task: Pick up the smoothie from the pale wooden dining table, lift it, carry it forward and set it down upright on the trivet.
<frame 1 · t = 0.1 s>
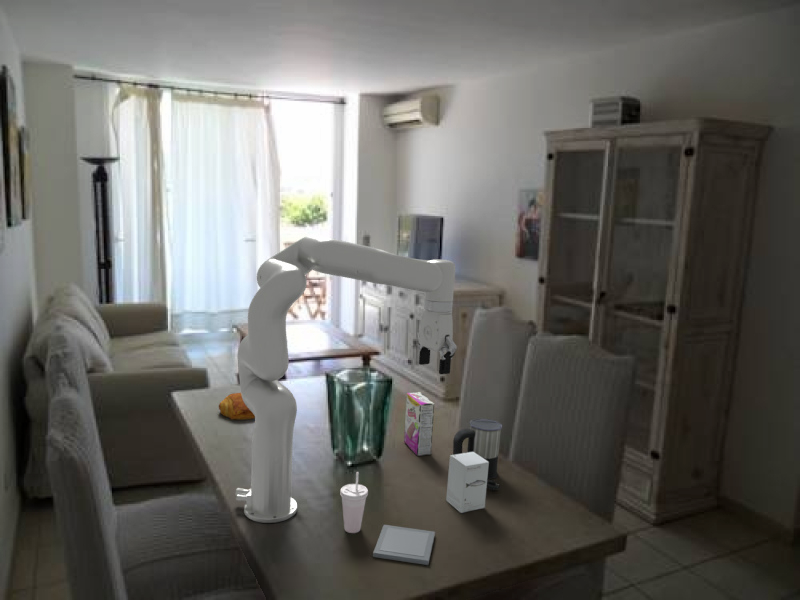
hand: (434, 368, 171), 31 cm above the table, tool pointing down, fingers open, 9 cm apart
trivet: (404, 545, 141), on the table
croissant: (242, 414, 217), on the table
smoothie: (352, 529, 147), on the table
candy bar box: (416, 449, 196), on the table
supplement box: (465, 505, 162), on the table
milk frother: (483, 480, 177), on the table
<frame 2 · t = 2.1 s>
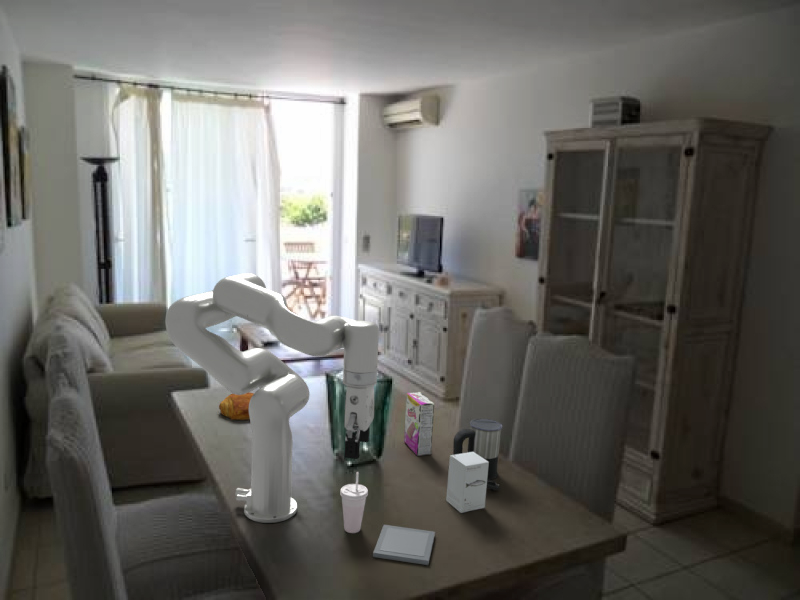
hand: (357, 449, 144), 20 cm above the table, tool pointing down, fingers open, 9 cm apart
nothing on the table moved.
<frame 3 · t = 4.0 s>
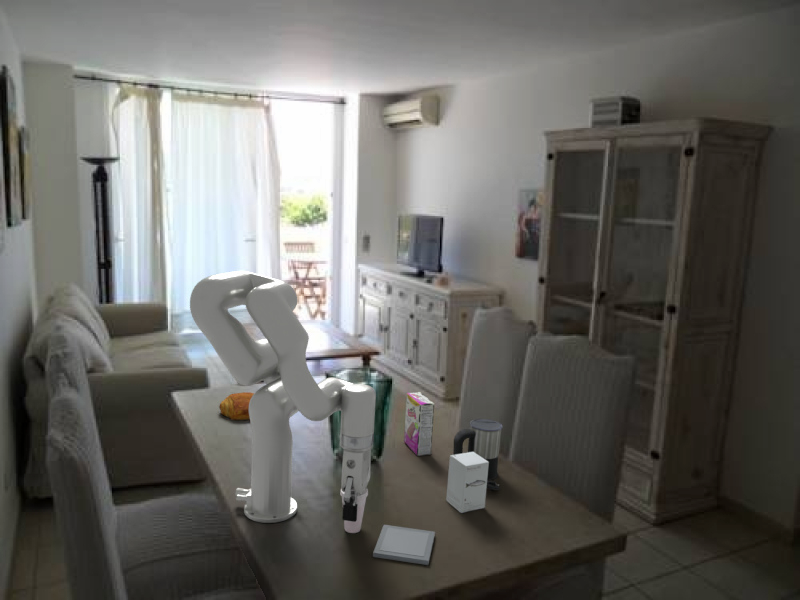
hand: (353, 512, 146), 4 cm above the table, tool pointing down, fingers closed on smoothie, 6 cm apart
smoothie: (352, 529, 147), on the table, touching gripper
everything else where it was.
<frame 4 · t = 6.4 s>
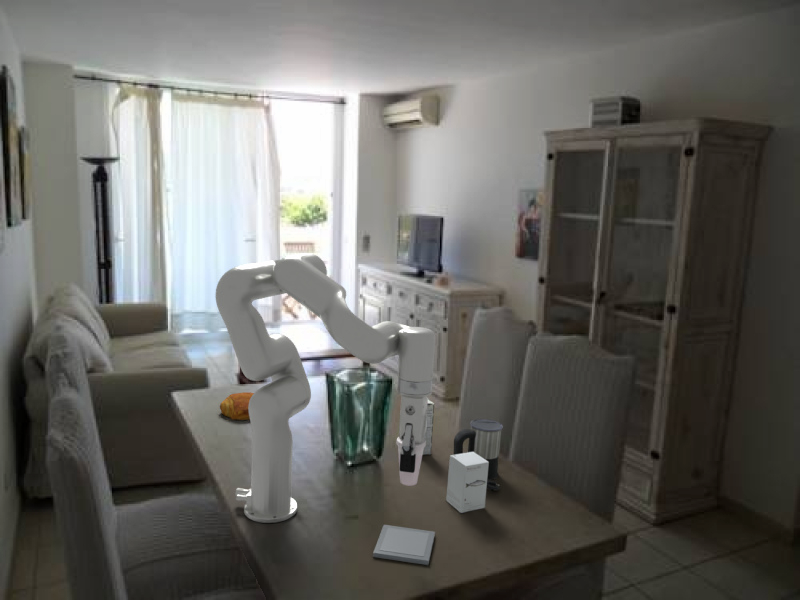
hand: (409, 463, 138), 19 cm above the table, tool pointing down, fingers closed on smoothie, 6 cm apart
smoothie: (408, 482, 139), point 15 cm above the table, touching gripper
everything else where it was.
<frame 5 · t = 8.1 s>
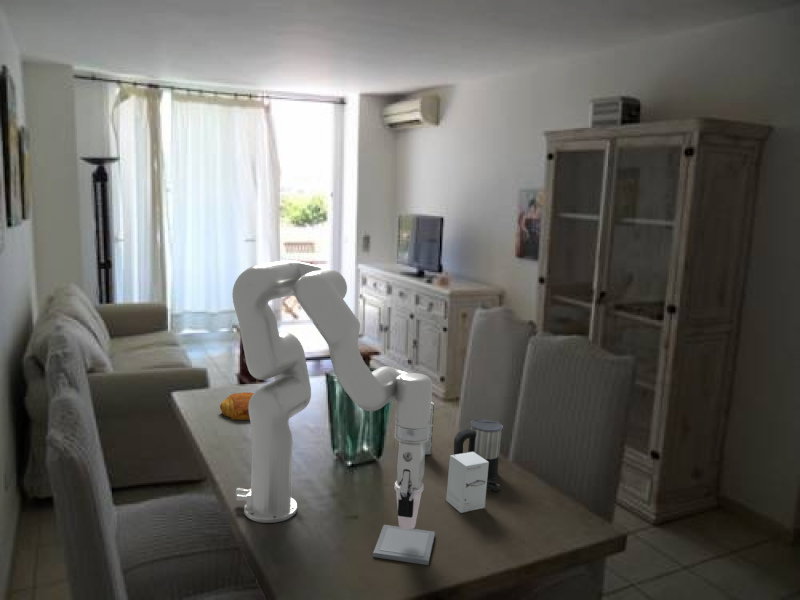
hand: (407, 507, 140), 9 cm above the table, tool pointing down, fingers closed on smoothie, 6 cm apart
smoothie: (406, 525, 140), point 5 cm above the table, touching gripper
everything else where it was.
when the fingers open (6 cm above the table, at t = 9.2 s): smoothie drops 1 cm, resting on trivet.
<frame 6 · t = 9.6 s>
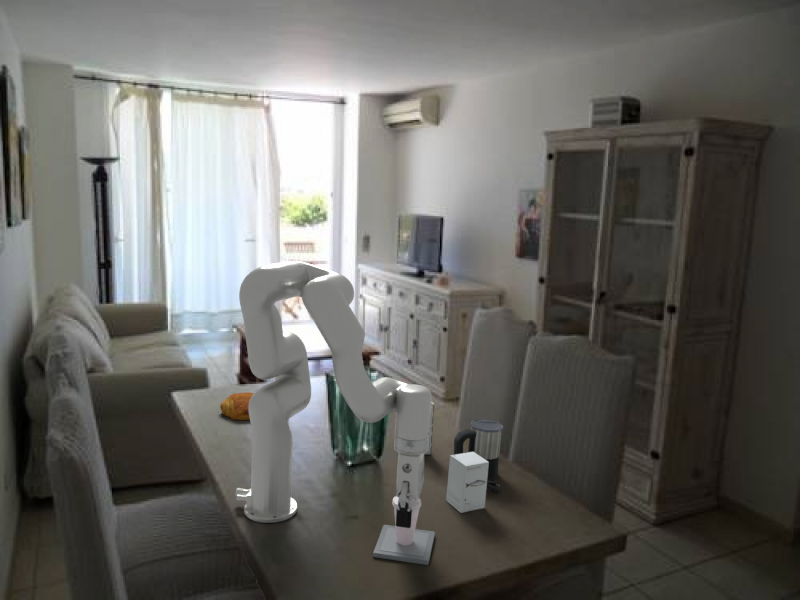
hand: (406, 515, 140), 7 cm above the table, tool pointing down, fingers open, 9 cm apart
smoothie: (404, 541, 141), point 1 cm above the table, touching trivet
everything else where it was.
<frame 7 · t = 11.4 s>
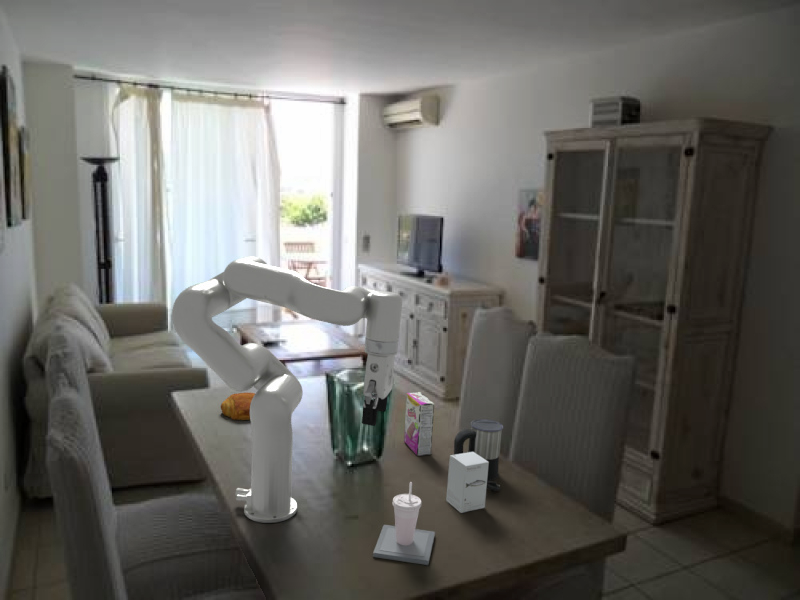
hand: (374, 417, 147), 26 cm above the table, tool pointing down, fingers open, 9 cm apart
nothing on the table moved.
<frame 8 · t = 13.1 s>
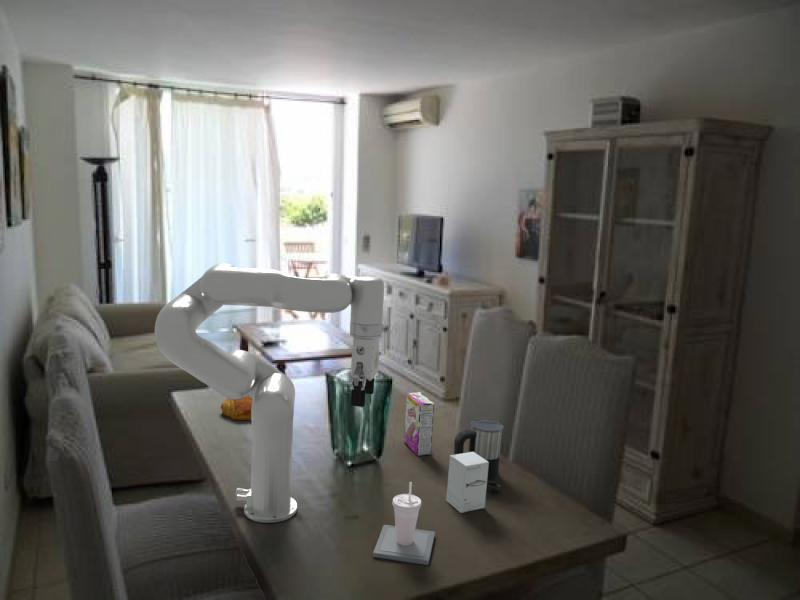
hand: (362, 399, 151), 28 cm above the table, tool pointing down, fingers open, 9 cm apart
nothing on the table moved.
at the end: smoothie inside the target area on the trivet (0.4 cm from its centre), point 0.9 cm above the trivet's base; smoothie tilted 0°; the gripper is holding nothing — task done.
